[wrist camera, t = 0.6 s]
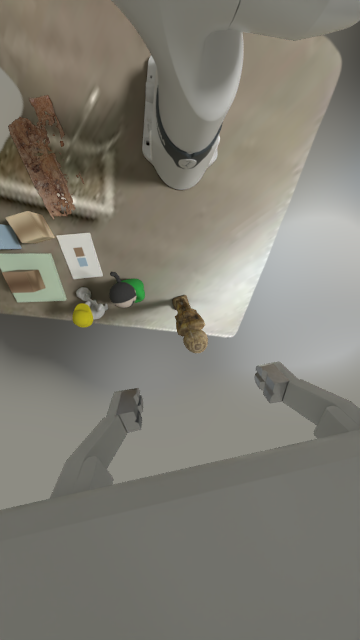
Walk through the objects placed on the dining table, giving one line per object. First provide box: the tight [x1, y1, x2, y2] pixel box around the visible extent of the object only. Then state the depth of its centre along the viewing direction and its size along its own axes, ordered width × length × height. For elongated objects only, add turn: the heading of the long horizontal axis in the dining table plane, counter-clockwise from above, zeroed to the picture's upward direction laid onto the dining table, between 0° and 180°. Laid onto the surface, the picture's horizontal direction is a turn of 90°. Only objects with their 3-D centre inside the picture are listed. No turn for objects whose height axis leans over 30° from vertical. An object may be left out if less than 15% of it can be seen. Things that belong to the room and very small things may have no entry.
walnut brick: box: [2, 270, 46, 293], centre depth 43 cm, size 6×6×5 cm
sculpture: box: [172, 295, 208, 353], centre depth 42 cm, size 7×6×30 cm
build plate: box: [0, 254, 67, 302], centre depth 46 cm, size 14×14×1 cm
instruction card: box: [57, 233, 103, 279], centre depth 45 cm, size 12×9×1 cm
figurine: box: [73, 287, 108, 327], centre depth 44 cm, size 10×9×15 cm
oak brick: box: [6, 211, 55, 243], centre depth 39 cm, size 6×6×5 cm
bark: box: [8, 95, 84, 219], centre depth 36 cm, size 22×12×1 cm, turn 14°
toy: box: [109, 272, 145, 308], centre depth 43 cm, size 10×11×15 cm
